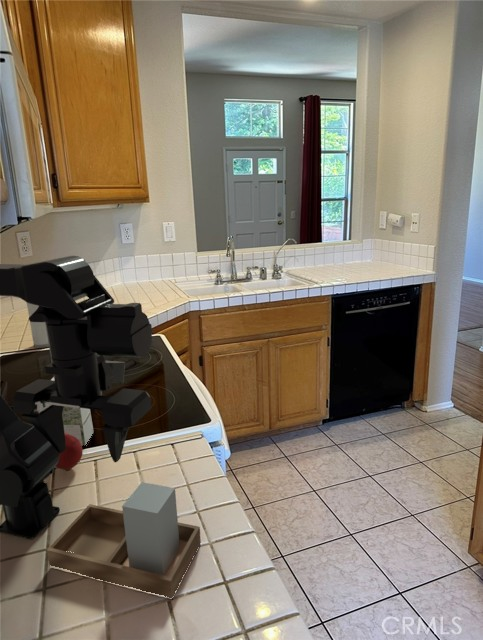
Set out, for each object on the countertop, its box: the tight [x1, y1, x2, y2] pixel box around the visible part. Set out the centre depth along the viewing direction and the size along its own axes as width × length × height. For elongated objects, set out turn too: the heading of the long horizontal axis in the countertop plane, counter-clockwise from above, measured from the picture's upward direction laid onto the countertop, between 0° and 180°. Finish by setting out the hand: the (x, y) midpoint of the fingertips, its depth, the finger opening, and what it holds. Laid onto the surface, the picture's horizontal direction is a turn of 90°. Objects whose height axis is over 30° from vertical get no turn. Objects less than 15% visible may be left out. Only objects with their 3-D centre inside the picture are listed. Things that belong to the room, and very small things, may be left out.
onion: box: [55, 433, 83, 472], centre depth 80 cm, size 6×6×8 cm
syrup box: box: [50, 376, 94, 446], centre depth 88 cm, size 6×6×14 cm
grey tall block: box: [121, 481, 180, 576], centre depth 58 cm, size 5×5×10 cm
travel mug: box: [26, 302, 49, 349], centre depth 149 cm, size 6×7×20 cm
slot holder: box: [46, 503, 202, 598], centre depth 60 cm, size 18×9×3 cm, turn 73°
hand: (89, 455), depth 62 cm, fingers open, 9 cm apart
